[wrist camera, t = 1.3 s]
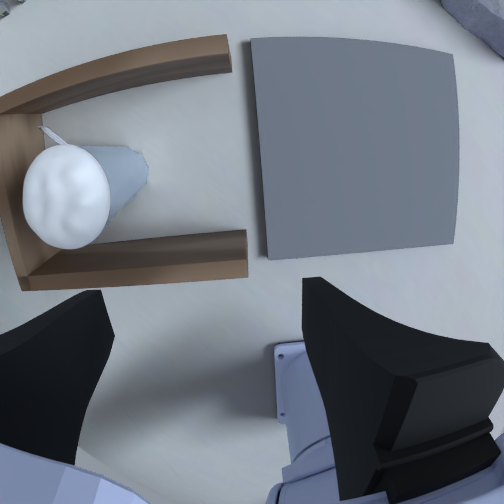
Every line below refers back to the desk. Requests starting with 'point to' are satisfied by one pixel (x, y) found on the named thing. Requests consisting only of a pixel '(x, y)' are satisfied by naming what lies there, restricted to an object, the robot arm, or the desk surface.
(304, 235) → the mat
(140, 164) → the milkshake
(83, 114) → the desk surface
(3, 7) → the caliper
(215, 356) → the desk surface
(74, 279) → the open box
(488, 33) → the stone block
